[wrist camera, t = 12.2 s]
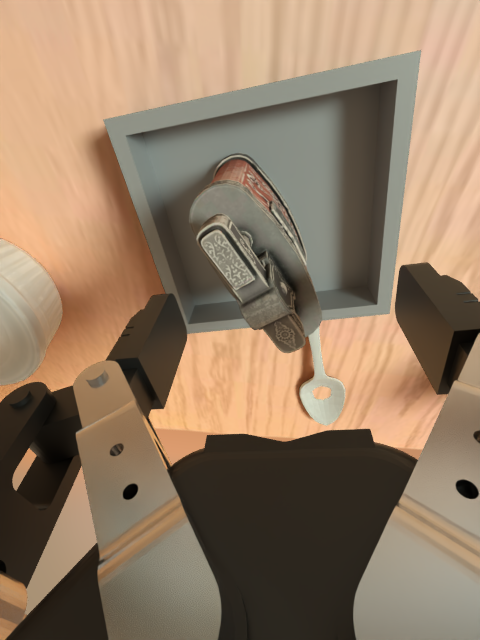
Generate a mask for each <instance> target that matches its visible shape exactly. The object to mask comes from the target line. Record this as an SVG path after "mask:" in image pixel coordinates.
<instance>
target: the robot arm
mask: <svg viewBox="0 0 480 640" xmlns="http://www.w3.org/2000/svg"><path fill="white" fill-rule="evenodd" d="M395 313H396V318H397V321H398V323H399V325H400V327H401V329H402V331H403V333H404V334H405V336H406V338H407V340H408V342H409V344H410V346H411V347H412V349H413V351H414V353H415V355H416V357H417V358H418V360H419V362H420V364H421V366H422V368H423V370H424V371H425V373H426V375H427V377H428V379H429V381H430V383H431V384H432V386H433V388H434V390H435V392H436V394H437V395H439V394H448V396H447V398H446V400H445V403H444V405H443V407H442V409H441V411H440V414H439V416H438V418H437V420H436V422H435V424H434V427H433V429H432V431H431V433H430V435H429V438H428V440H427V442H426V444H425V446H424V448H423V451H422V453H421V455H420V457H419V460H417V459H415V458H414V457H412V456H410V455H408V454H407V453H404V452H403V451H400V450H398V449H395V448H393V447H390V446H387V445H384V444H380V443H375V442H374V441H373V437H372V434H371V431H370V429H355V430H329V431H324V432H320V433H317V434H313V435H310V436H306V437H302V438H299V439H295V440H292V441H287V442H282V441H276V440H272V439H267V438H262V437H257V436H253V435H248V434H227V435H207V438H206V443H205V448H203V449H200V450H198V451H195V452H193V453H191V454H189V455H187V456H185V457H183V458H182V459H180V460H179V461H177V462H176V463H174V464H173V465H172V463H171V461H170V459H169V457H168V456H167V453H166V451H165V449H164V447H163V445H162V443H161V441H160V439H159V437H158V435H157V433H156V431H155V429H154V426H153V424H152V422H151V420H150V419H149V417H148V416H149V413H150V411H151V409H164V407H165V404H166V401H167V398H168V395H169V392H170V389H171V386H172V383H173V380H174V377H175V374H176V371H177V368H178V365H179V362H180V359H181V356H182V353H183V350H184V347H185V344H186V341H187V329H186V325H185V322H184V319H183V317H182V314H181V311H180V308H179V306H178V303H177V300H176V297H175V296H174V294H172V293H169V294H161V295H153V296H152V297H151V298H150V300H149V302H148V303H147V305H146V307H145V309H143V310H140V311H139V312H138V313H137V314H136V315H134V316H133V317H132V318H131V319H130V321H129V323H128V324H127V326H126V329H124V331H123V333H122V334H121V337H119V339H118V341H117V342H116V344H115V346H114V347H113V349H112V351H111V352H110V354H109V356H108V357H107V359H106V360H105V361H102V362H98V363H96V364H93V365H92V366H90V367H88V368H87V369H85V370H84V371H83V372H82V373H80V374H79V376H78V377H77V378H76V380H75V382H74V385H73V386H70V387H67V388H63V389H60V390H57V391H54V392H51V391H50V390H49V389H48V387H47V386H46V385H45V384H44V383H42V382H33V383H29V384H26V385H24V386H21V387H19V388H18V389H16V390H14V391H13V392H11V393H10V394H9V395H7V396H6V397H5V398H4V399H3V400H2V401H1V403H0V640H480V302H478V299H477V298H476V297H475V296H474V295H473V294H471V293H470V291H469V290H468V289H467V288H466V287H465V286H464V285H463V283H462V282H460V281H458V280H455V279H453V278H451V277H449V276H447V275H443V276H440V275H439V274H438V273H437V272H436V271H435V270H434V268H433V267H432V266H431V265H430V264H429V263H427V262H426V263H418V264H409V265H402V266H401V268H400V271H399V277H398V285H397V294H396V302H395ZM28 448H30V449H31V450H32V451H33V452H34V453H35V454H36V455H37V457H36V458H35V460H34V462H33V463H32V465H31V467H30V469H29V470H28V472H27V474H26V475H25V477H24V479H23V481H22V482H21V484H20V486H19V487H18V489H17V491H15V490H14V488H13V484H12V478H13V474H14V472H15V470H16V468H17V466H18V465H19V463H20V461H21V460H22V458H23V457H24V455H25V453H26V452H27V450H28ZM81 466H82V469H83V474H84V479H85V484H86V489H87V494H88V499H89V503H90V508H91V513H92V518H93V523H94V528H95V533H96V538H97V543H96V544H95V545H94V546H93V547H92V549H91V550H90V551H89V552H88V553H87V554H86V555H85V556H84V557H83V558H82V559H81V560H80V561H79V562H78V563H77V564H76V565H75V566H74V567H73V568H72V569H71V570H70V572H69V573H68V574H67V575H66V576H65V577H64V578H63V579H62V580H61V581H60V582H59V583H58V584H57V585H56V586H55V587H54V588H53V589H52V590H51V591H50V592H49V594H47V596H46V597H45V598H44V599H43V600H42V601H41V602H40V603H39V604H38V605H37V606H36V607H35V608H34V609H33V610H32V611H31V612H30V613H29V614H28V615H27V614H25V611H26V606H27V598H28V597H27V591H26V588H27V586H28V584H29V582H30V580H31V578H32V575H33V573H34V571H35V569H36V566H37V564H38V562H39V560H40V557H41V555H42V553H43V551H44V549H45V546H46V544H47V542H48V540H49V537H50V535H51V533H52V531H53V528H54V526H55V524H56V522H57V519H58V517H59V515H60V513H61V510H62V508H63V506H64V504H65V502H66V499H67V497H68V495H69V492H70V490H71V488H72V486H73V483H74V481H75V479H76V477H77V475H78V472H79V470H80V468H81Z"/></svg>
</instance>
